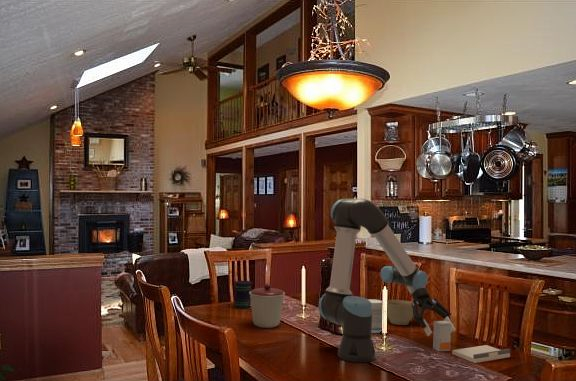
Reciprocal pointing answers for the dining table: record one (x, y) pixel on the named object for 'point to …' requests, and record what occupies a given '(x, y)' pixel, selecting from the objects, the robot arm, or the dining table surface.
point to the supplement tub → (376, 315)
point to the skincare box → (442, 336)
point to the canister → (266, 306)
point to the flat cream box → (481, 353)
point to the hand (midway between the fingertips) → (441, 332)
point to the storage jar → (242, 295)
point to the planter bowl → (400, 312)
